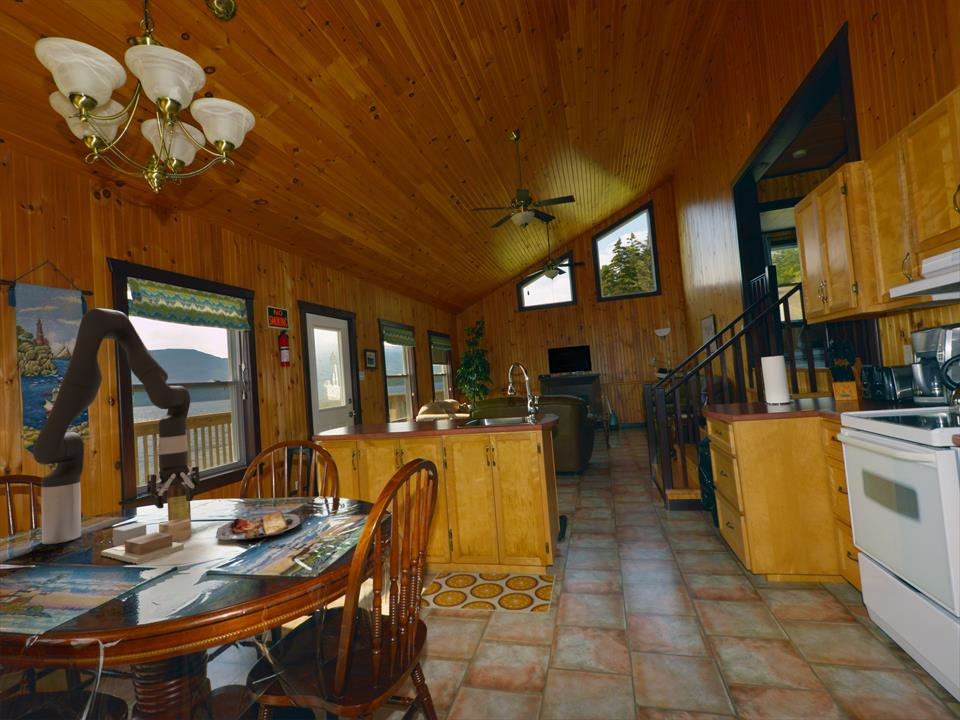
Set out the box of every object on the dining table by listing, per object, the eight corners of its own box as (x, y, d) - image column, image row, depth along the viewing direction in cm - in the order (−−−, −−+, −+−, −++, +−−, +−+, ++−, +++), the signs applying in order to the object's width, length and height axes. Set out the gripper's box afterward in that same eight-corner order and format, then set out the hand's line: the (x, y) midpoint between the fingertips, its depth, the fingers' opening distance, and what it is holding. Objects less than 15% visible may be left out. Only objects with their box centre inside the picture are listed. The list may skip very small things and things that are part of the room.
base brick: (124, 551, 129) (124, 540, 130) (156, 542, 136) (156, 531, 137) (141, 555, 126) (140, 544, 126) (172, 545, 133) (172, 534, 133)
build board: (101, 555, 131) (101, 550, 131) (148, 541, 142) (148, 536, 142) (136, 563, 123) (136, 558, 123) (184, 548, 134) (183, 543, 134)
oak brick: (159, 540, 143) (158, 523, 143) (179, 534, 148) (179, 518, 148) (170, 542, 140) (170, 525, 140) (191, 536, 145) (190, 519, 145)
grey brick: (113, 545, 140) (112, 528, 140) (135, 539, 145) (135, 522, 145) (124, 548, 137) (123, 530, 137) (146, 541, 142) (146, 524, 143)
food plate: (220, 526, 154) (219, 515, 154) (296, 515, 163) (296, 505, 163) (213, 552, 131) (213, 539, 131) (302, 537, 141) (302, 525, 141)
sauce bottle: (194, 526, 156) (193, 465, 157) (174, 531, 150) (172, 469, 151) (184, 524, 159) (183, 464, 160) (164, 529, 154) (162, 467, 155)
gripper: (189, 447, 153) (191, 498, 152) (141, 454, 141) (142, 509, 140) (203, 447, 150) (205, 499, 149) (155, 455, 137) (157, 511, 136)
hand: (175, 504), depth 144 cm, fingers open, 8 cm apart
